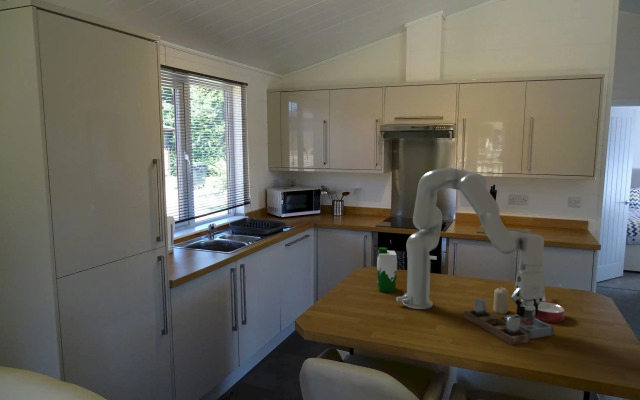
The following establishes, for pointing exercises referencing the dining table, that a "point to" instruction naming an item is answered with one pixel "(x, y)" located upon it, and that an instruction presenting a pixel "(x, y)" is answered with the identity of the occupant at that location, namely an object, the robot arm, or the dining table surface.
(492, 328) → the socket rack
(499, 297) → the candle
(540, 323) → the tray
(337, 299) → the dining table surface
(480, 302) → the peg
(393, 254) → the milk carton
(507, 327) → the peg
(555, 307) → the frying pan
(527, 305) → the pill bottle
